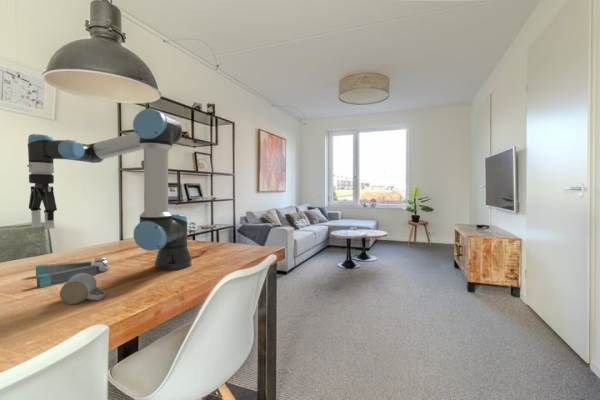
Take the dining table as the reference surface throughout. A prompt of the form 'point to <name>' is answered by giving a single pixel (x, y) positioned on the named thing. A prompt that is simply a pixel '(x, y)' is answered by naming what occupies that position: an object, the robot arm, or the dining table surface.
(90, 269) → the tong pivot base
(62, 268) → the tong swing arm
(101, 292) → the ceramic mug
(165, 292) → the dining table surface
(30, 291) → the dining table surface
